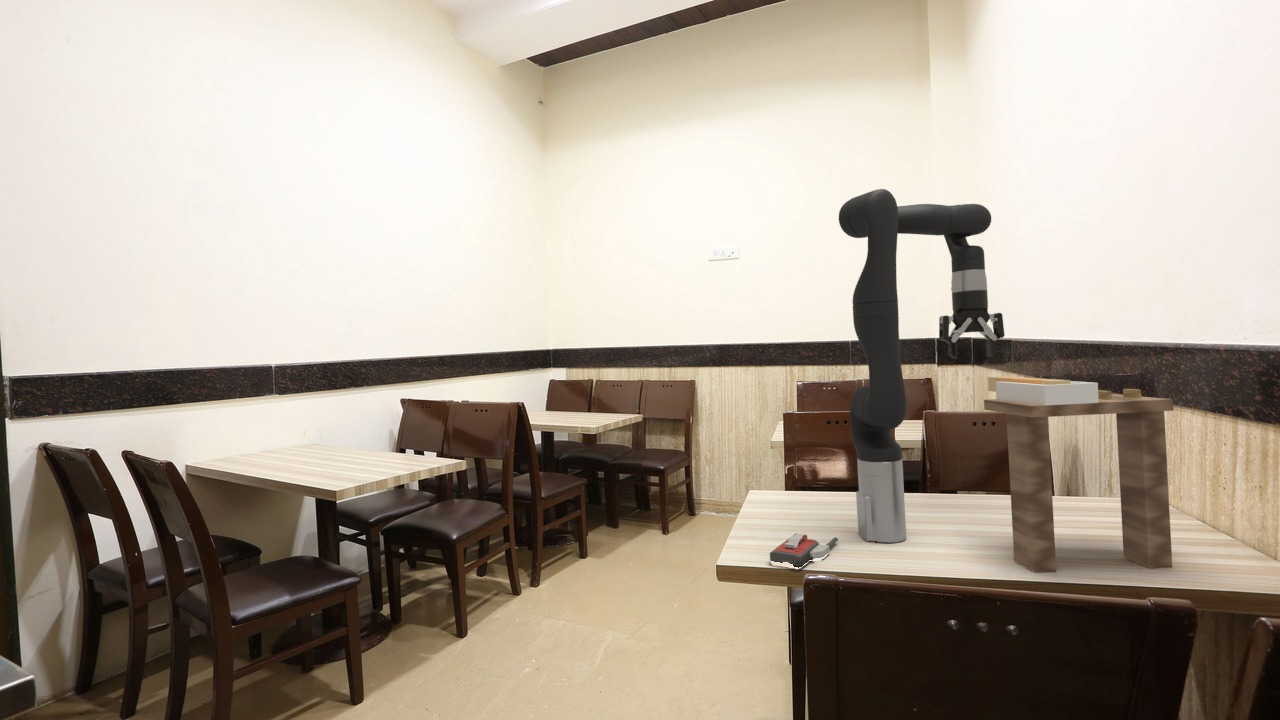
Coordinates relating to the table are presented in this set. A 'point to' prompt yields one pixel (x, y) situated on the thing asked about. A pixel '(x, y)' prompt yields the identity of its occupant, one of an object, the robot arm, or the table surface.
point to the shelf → (1137, 475)
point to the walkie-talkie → (800, 550)
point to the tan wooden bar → (1023, 381)
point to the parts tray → (1048, 393)
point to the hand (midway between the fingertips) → (972, 357)
